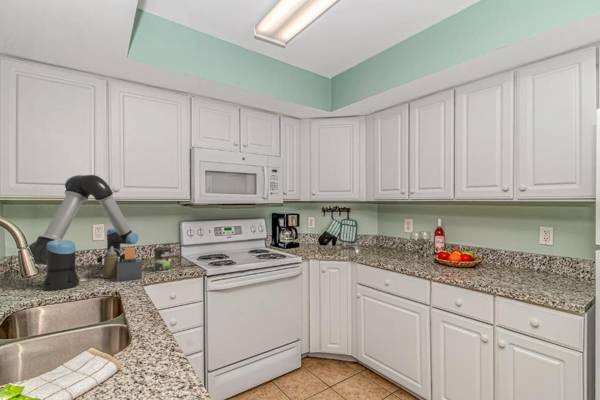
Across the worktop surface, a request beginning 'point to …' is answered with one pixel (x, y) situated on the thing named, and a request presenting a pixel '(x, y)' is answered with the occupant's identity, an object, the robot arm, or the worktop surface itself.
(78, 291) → the worktop surface
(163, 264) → the coffee can
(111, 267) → the squeeze bottle
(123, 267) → the switch box
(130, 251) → the breaker handle
